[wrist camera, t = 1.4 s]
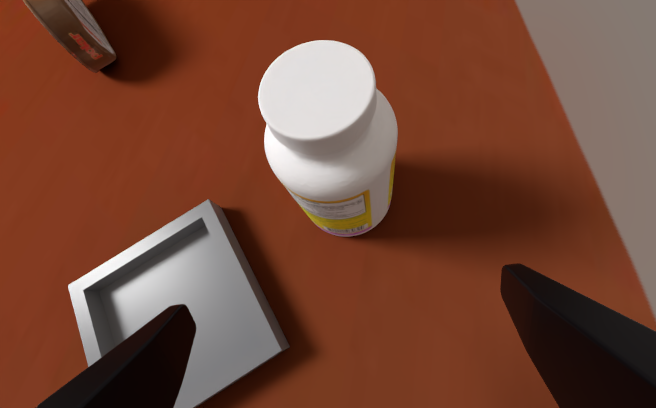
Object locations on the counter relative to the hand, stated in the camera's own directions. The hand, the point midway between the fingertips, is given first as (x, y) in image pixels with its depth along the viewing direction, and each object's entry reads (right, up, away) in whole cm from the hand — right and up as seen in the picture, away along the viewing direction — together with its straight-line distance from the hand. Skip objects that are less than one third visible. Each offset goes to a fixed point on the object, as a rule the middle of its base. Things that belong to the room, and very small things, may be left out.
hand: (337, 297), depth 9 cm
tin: (-26, +21, +26) cm, 42 cm away
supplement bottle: (+1, +3, +16) cm, 16 cm away
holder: (-11, -6, +14) cm, 19 cm away
